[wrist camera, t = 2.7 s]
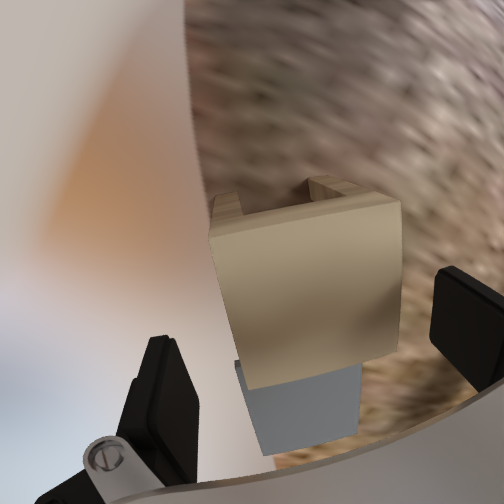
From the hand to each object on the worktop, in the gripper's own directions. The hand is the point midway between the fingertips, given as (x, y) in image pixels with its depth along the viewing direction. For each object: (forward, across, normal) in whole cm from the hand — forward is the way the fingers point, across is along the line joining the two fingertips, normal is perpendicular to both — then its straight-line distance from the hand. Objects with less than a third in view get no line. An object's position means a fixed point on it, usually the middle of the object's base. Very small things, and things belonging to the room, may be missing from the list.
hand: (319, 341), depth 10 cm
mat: (+9, 0, +13) cm, 16 cm away
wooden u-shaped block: (+9, 0, -1) cm, 9 cm away
